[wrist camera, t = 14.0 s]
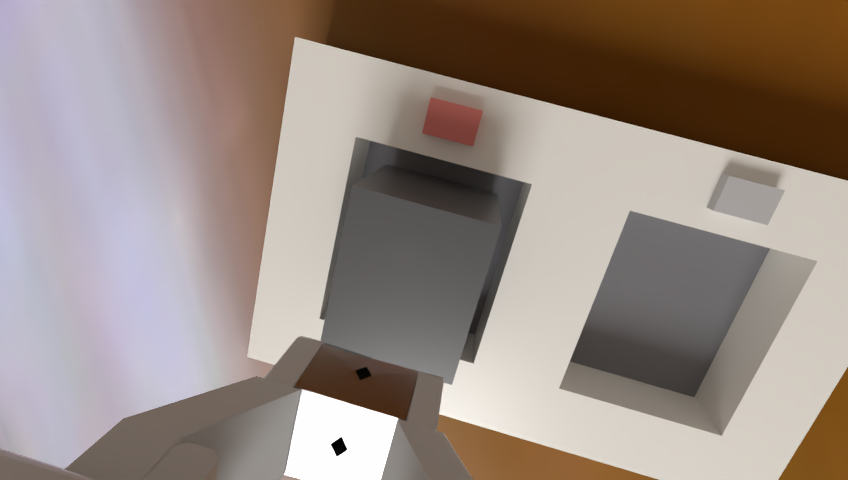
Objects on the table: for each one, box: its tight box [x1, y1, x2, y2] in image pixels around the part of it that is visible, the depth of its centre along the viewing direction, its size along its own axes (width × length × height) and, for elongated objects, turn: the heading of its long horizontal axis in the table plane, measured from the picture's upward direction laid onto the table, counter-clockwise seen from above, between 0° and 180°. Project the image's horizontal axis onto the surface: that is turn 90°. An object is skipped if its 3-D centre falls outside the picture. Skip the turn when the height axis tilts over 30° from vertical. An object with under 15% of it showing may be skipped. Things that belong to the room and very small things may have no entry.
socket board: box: [247, 37, 848, 480], centre depth 19 cm, size 22×13×4 cm, turn 76°
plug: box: [321, 164, 502, 385], centre depth 17 cm, size 4×6×6 cm
